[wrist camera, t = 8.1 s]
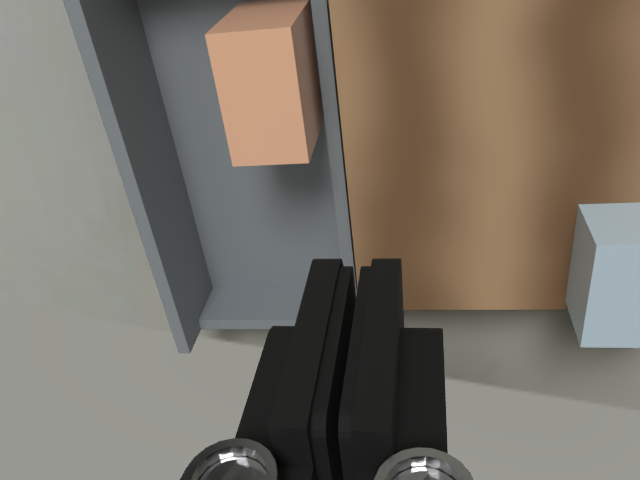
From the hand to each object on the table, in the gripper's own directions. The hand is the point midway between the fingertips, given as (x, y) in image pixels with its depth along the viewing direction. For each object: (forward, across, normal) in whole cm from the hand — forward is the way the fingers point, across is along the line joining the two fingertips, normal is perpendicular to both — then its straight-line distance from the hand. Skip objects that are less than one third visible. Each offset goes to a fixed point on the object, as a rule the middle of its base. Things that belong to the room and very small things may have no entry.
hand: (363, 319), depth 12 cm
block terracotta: (+14, +3, 0) cm, 14 cm away
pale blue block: (+13, -10, +8) cm, 18 cm away
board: (+17, -7, +3) cm, 19 cm away
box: (+17, +7, +3) cm, 18 cm away
